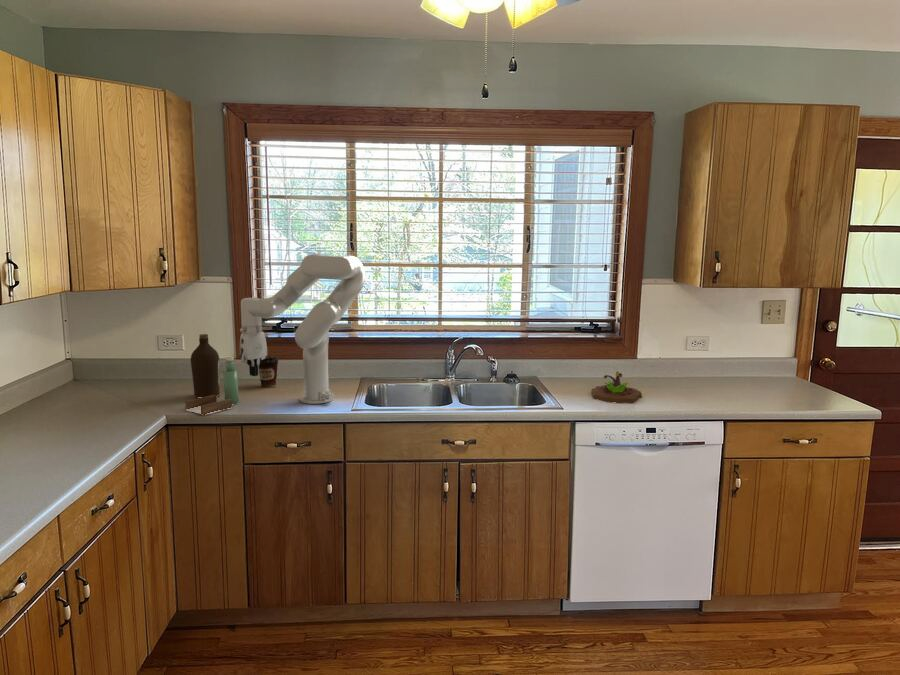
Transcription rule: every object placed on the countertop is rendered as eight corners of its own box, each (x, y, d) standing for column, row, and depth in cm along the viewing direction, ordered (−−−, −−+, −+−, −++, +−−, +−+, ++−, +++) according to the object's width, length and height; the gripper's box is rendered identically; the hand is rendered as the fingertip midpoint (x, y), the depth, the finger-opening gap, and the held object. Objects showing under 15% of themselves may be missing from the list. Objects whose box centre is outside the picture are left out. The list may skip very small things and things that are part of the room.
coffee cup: (275, 389, 268) (274, 358, 266) (256, 388, 269) (254, 358, 266) (281, 384, 277) (280, 354, 275) (262, 383, 277) (261, 354, 275)
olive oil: (198, 401, 249) (194, 338, 245) (189, 395, 257) (185, 334, 253) (225, 396, 256) (221, 335, 251) (215, 391, 264) (212, 331, 259)
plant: (588, 401, 256) (589, 373, 254) (593, 389, 274) (594, 363, 272) (640, 406, 249) (641, 378, 247) (642, 393, 267) (643, 367, 265)
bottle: (241, 403, 247) (239, 357, 244) (230, 406, 243) (228, 359, 240) (233, 401, 250) (231, 356, 246) (222, 404, 246) (219, 358, 242)
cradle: (232, 408, 240) (231, 399, 239) (203, 416, 230) (203, 406, 229) (214, 403, 246) (213, 394, 245) (185, 410, 236) (185, 401, 236)
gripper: (242, 333, 242) (244, 380, 245) (273, 328, 254) (275, 373, 257) (229, 331, 246) (232, 377, 249) (261, 326, 258) (263, 370, 262)
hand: (254, 375), depth 253 cm, fingers closed
